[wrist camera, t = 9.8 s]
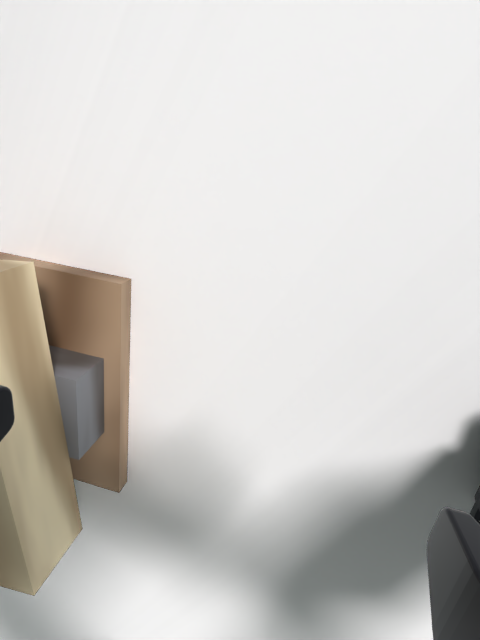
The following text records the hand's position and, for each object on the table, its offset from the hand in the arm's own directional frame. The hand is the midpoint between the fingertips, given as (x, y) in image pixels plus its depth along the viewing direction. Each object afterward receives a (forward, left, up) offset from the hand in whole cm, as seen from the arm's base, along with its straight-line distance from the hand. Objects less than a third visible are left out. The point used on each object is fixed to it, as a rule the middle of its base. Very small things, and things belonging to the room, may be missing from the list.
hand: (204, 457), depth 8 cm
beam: (+12, +8, -8) cm, 17 cm away
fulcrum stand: (+12, +8, -12) cm, 19 cm away
